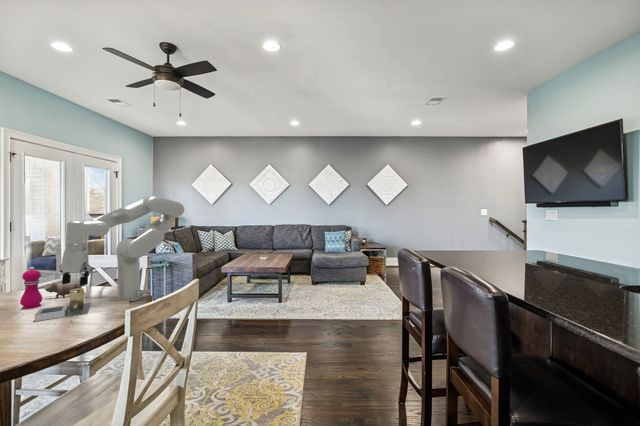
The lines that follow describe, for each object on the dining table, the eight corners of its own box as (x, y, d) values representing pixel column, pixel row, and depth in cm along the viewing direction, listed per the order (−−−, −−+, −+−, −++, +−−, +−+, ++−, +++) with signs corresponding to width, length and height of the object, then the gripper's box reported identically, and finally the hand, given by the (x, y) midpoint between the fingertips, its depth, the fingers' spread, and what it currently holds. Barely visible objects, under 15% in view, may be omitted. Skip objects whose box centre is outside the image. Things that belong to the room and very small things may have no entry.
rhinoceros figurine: (90, 292, 150) (68, 270, 146) (61, 311, 143) (38, 289, 139) (91, 289, 157) (71, 269, 153) (64, 308, 150) (42, 287, 146)
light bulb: (84, 304, 134) (84, 287, 134) (83, 307, 130) (83, 290, 130) (70, 306, 131) (70, 289, 131) (68, 309, 127) (68, 291, 127)
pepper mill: (27, 313, 125) (28, 268, 125) (15, 312, 127) (15, 267, 127) (46, 307, 133) (46, 265, 132) (34, 306, 134) (35, 264, 134)
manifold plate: (91, 305, 137) (91, 297, 137) (87, 317, 122) (87, 308, 122) (42, 312, 127) (43, 303, 127) (32, 326, 112) (32, 316, 112)
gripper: (52, 247, 128) (50, 284, 128) (84, 249, 125) (82, 287, 125) (69, 245, 135) (67, 281, 135) (100, 247, 132) (98, 283, 132)
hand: (74, 284), depth 130 cm, fingers open, 9 cm apart
